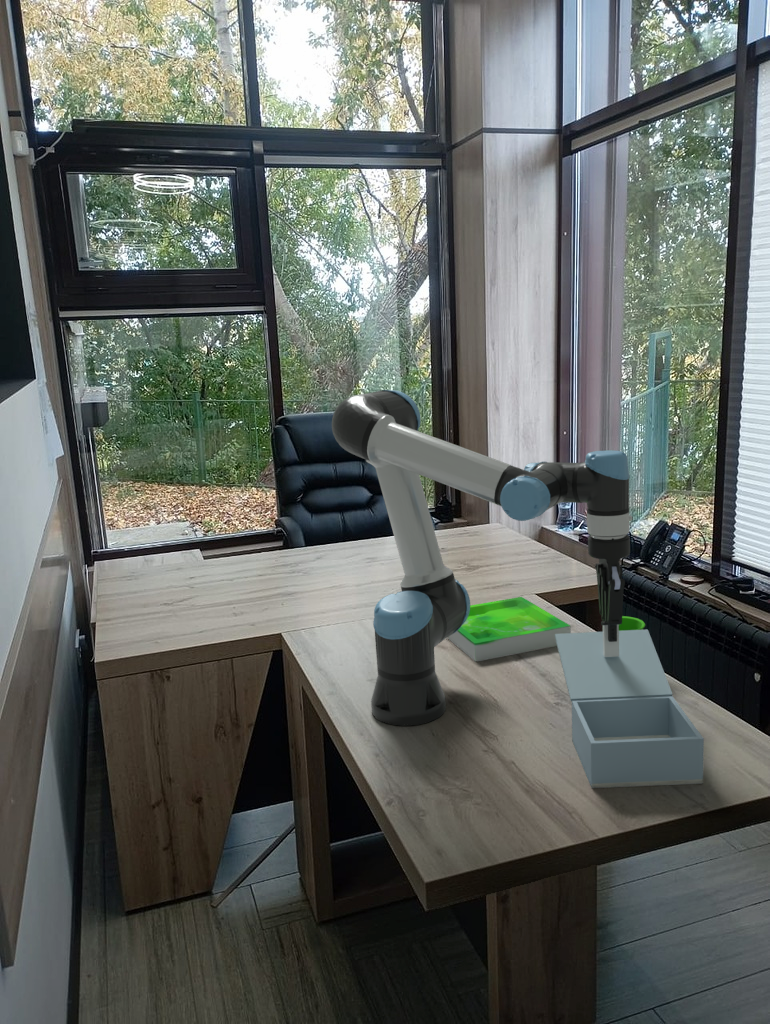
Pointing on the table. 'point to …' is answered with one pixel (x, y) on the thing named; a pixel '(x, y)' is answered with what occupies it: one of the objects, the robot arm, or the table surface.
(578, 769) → the table surface
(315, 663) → the table surface
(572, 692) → the lid
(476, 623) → the tray
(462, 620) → the robot arm
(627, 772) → the box
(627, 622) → the cup
